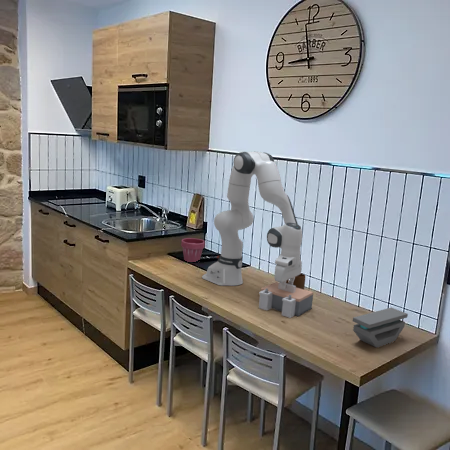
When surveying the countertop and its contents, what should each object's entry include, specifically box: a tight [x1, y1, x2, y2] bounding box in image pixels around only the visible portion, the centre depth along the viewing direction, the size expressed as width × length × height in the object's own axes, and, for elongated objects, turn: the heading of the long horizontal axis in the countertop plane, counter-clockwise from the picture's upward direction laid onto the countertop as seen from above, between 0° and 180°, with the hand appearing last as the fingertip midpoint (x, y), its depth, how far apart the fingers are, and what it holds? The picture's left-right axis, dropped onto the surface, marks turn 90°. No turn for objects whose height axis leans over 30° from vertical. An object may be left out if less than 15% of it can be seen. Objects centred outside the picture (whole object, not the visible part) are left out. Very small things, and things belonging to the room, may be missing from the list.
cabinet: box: [258, 288, 314, 319], centre depth 222 cm, size 20×18×9 cm
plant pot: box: [180, 237, 206, 263], centre depth 289 cm, size 14×14×13 cm
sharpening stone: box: [352, 307, 409, 348], centre depth 193 cm, size 25×8×11 cm, turn 126°
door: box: [258, 281, 314, 303], centre depth 221 cm, size 20×18×4 cm
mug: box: [286, 272, 306, 290], centre depth 245 cm, size 12×8×9 cm, turn 123°
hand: (287, 287), depth 223 cm, fingers open, 5 cm apart
